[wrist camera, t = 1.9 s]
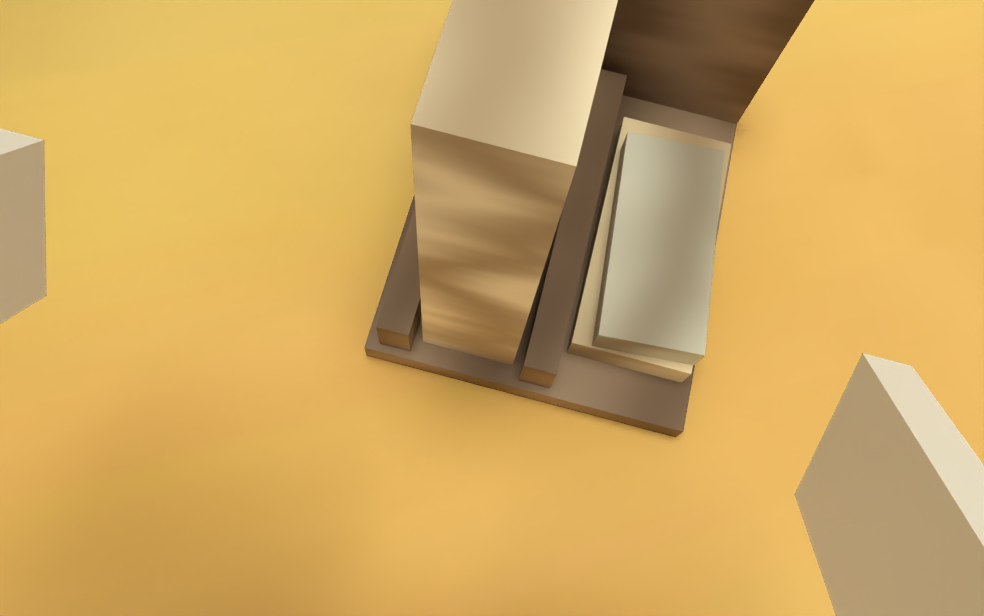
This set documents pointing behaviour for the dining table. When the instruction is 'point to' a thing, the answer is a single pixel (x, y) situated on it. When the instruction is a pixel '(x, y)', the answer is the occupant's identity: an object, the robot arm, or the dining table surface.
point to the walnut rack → (619, 93)
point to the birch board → (499, 160)
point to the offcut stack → (653, 253)
